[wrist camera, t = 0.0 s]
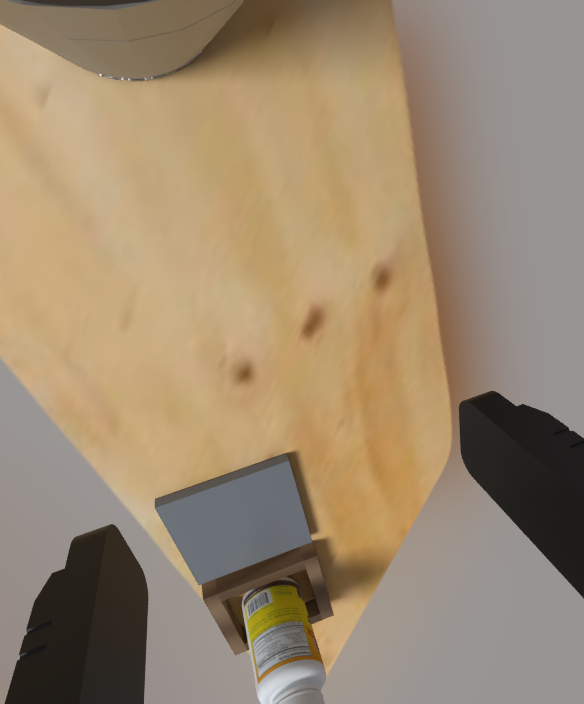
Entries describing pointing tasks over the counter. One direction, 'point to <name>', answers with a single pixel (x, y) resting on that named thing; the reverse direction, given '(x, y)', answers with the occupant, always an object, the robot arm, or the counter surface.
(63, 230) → the counter surface
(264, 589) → the supplement bottle
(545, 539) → the robot arm
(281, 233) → the counter surface
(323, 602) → the pocket frame
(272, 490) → the slate coaster
